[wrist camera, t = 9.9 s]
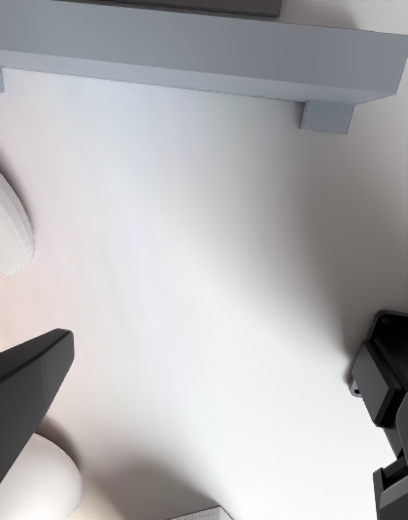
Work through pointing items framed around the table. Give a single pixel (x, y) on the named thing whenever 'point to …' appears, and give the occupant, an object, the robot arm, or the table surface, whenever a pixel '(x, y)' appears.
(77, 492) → the flower in vase
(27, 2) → the screen
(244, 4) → the mat
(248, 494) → the table surface
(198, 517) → the skincare box
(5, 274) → the game controller
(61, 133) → the table surface
